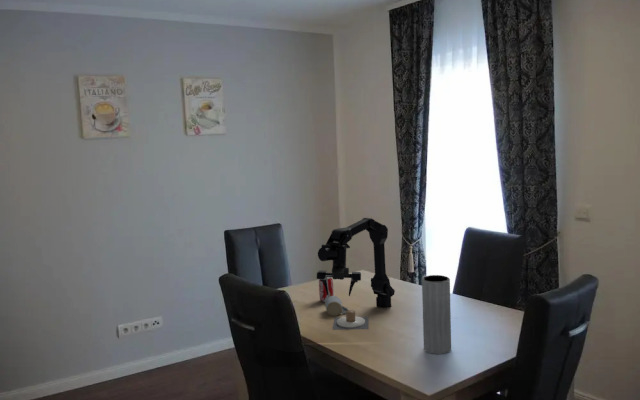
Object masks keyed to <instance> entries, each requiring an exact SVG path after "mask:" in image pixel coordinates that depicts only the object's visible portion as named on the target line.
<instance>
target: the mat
mask: <svg viewBox="0 0 640 400" xmlns="http://www.w3.org/2000/svg"><path fill="white" fill-rule="evenodd" d="M342 317H343V316H341V317H340V316H338V317H337V316H336V317H334V319H333V325H332V330H333V331H334V330H335V331H336V330H338V331H340V330H369V329H370V327H369V326H370V325H369V316H361V317H362V318H364V319H365V324H364V325H363V326H360V327H356V328H344V327H340V326H338V325H337V320H338V319H339V318H342Z"/></svg>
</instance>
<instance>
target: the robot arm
mask: <svg viewBox="0 0 640 400" xmlns="http://www.w3.org/2000/svg"><path fill="white" fill-rule="evenodd" d="M363 231H366V232H368V235H369V239H370V240H371V242H372V243H373V261H374V262H373V263H374V275H373V277H371V278H370V287H371V289H372V292H373V294H374V295H376V298H375V303H376V308H381V309H388V308H391V307H392V297H393V296H394V295H395V292H396V291H395V288H393V287H392V286H391V281H390V277H388V275H387V272H386V253H385V252H386V250H385V242H387V239H388V232H389V229H388V227H387V226H386V225H385V224H382V223H380V222H378V221H376V220H375V219H373V218H372V217H363V218H362V219H360V220H359V221H357V222H356V221H355V222H353V223H352V224H350V225H348V226H345V227H339V228H335V229H333V230H332V231H331V233H330V235H329V237H328V239H327V241H326V243H325V244H321V247H320V248H319V249H318V251H317V257H318V259H319V260H320V261H321V262H326V261H327V262H328V261H332V267H331V272H328V271H327V270H324V269H323V270H320V269H319V270H318V271H317V272H316V279H317V280H320V281H322V282H323V284H324V286H325V289H326V293H327V295H328V279H327V277H332V280H342V281H343V280H345V279H349V278H350V285H349V289H348V297H350V296H351V293H352V291H353V287H354V286H355V284H356V283H358V281H359V282H360V281H361V280H362V273H361V272H360V271H352V272H351V273H350V269H349V268H350V267H347V249H350V248H351V246H350V245H349V244H348V243H349V242H350V241H351V240H352V238H353V237H354V236H356V235H358V234H360V233H361V232H363ZM392 308H393V307H392Z"/></svg>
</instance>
